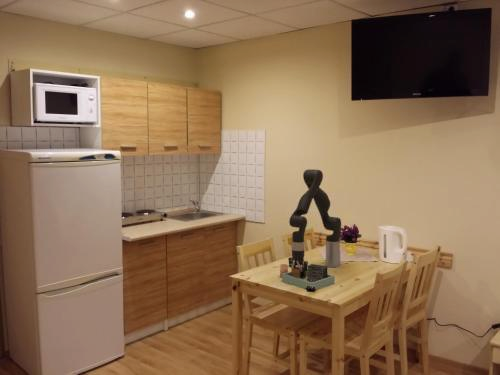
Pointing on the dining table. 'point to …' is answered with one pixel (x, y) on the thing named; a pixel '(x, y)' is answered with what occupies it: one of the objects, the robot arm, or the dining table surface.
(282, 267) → the jar
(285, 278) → the teal shallow rectangular tray
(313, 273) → the small box
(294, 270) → the block
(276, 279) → the dining table surface
